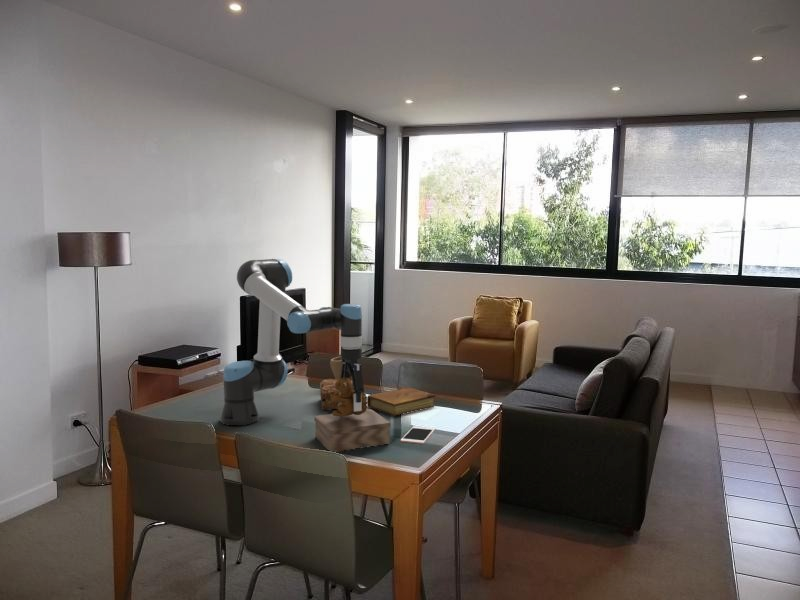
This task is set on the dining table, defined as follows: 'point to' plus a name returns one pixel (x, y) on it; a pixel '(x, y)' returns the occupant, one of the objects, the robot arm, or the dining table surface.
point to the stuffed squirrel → (346, 398)
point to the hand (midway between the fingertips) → (351, 406)
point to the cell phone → (418, 434)
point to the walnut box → (352, 430)
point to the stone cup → (337, 368)
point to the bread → (328, 394)
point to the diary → (400, 401)
